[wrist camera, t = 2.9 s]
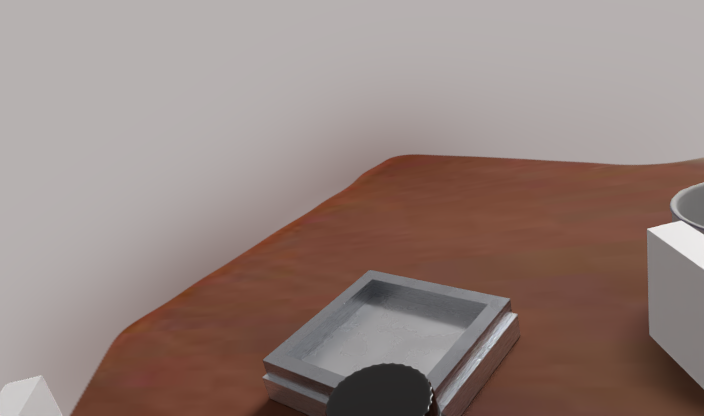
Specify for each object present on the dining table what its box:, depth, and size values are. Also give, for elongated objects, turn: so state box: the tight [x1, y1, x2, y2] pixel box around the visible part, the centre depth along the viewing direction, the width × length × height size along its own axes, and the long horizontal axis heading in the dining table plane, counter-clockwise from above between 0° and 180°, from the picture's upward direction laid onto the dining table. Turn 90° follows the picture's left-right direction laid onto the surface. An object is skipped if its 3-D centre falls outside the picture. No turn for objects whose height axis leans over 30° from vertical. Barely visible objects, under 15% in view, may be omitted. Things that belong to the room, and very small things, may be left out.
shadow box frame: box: [262, 270, 520, 416], centre depth 45 cm, size 14×14×4 cm
